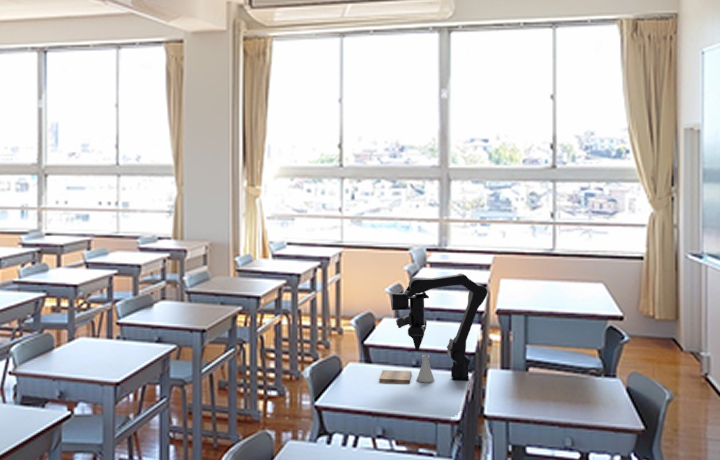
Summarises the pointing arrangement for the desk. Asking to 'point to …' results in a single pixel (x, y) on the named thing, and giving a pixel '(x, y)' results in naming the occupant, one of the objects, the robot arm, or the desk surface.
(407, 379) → the flat brown panel
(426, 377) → the flask
